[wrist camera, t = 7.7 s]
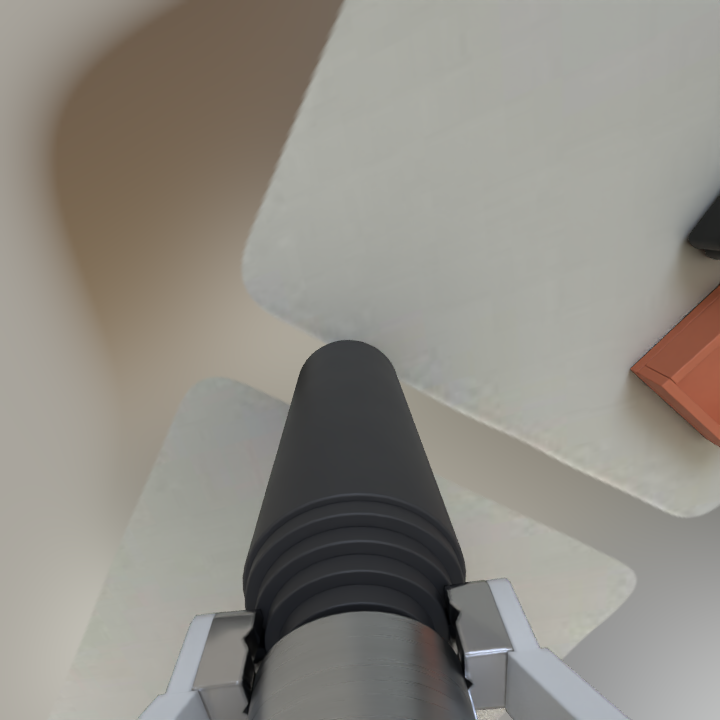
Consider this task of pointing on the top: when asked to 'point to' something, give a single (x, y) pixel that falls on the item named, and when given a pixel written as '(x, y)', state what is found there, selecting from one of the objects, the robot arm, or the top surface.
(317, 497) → the thermos
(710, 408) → the tray
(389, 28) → the top surface
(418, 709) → the lid
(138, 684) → the top surface
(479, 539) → the top surface
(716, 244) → the black long bar
